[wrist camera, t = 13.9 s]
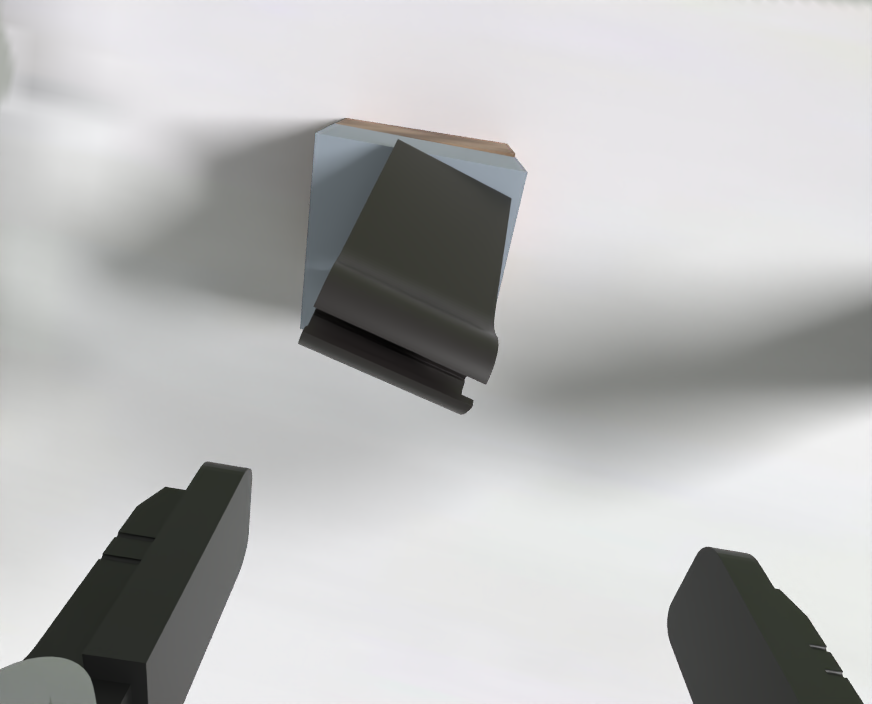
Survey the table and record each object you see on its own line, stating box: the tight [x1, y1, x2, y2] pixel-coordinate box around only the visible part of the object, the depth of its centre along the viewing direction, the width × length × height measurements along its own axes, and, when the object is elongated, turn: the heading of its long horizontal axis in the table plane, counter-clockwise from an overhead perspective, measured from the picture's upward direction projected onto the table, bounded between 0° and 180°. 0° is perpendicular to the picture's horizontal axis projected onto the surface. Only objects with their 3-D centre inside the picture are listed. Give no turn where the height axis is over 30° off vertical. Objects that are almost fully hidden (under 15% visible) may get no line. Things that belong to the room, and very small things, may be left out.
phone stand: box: [298, 139, 512, 415], centre depth 24 cm, size 9×6×12 cm, turn 153°
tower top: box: [300, 123, 527, 329], centre depth 31 cm, size 10×10×5 cm
